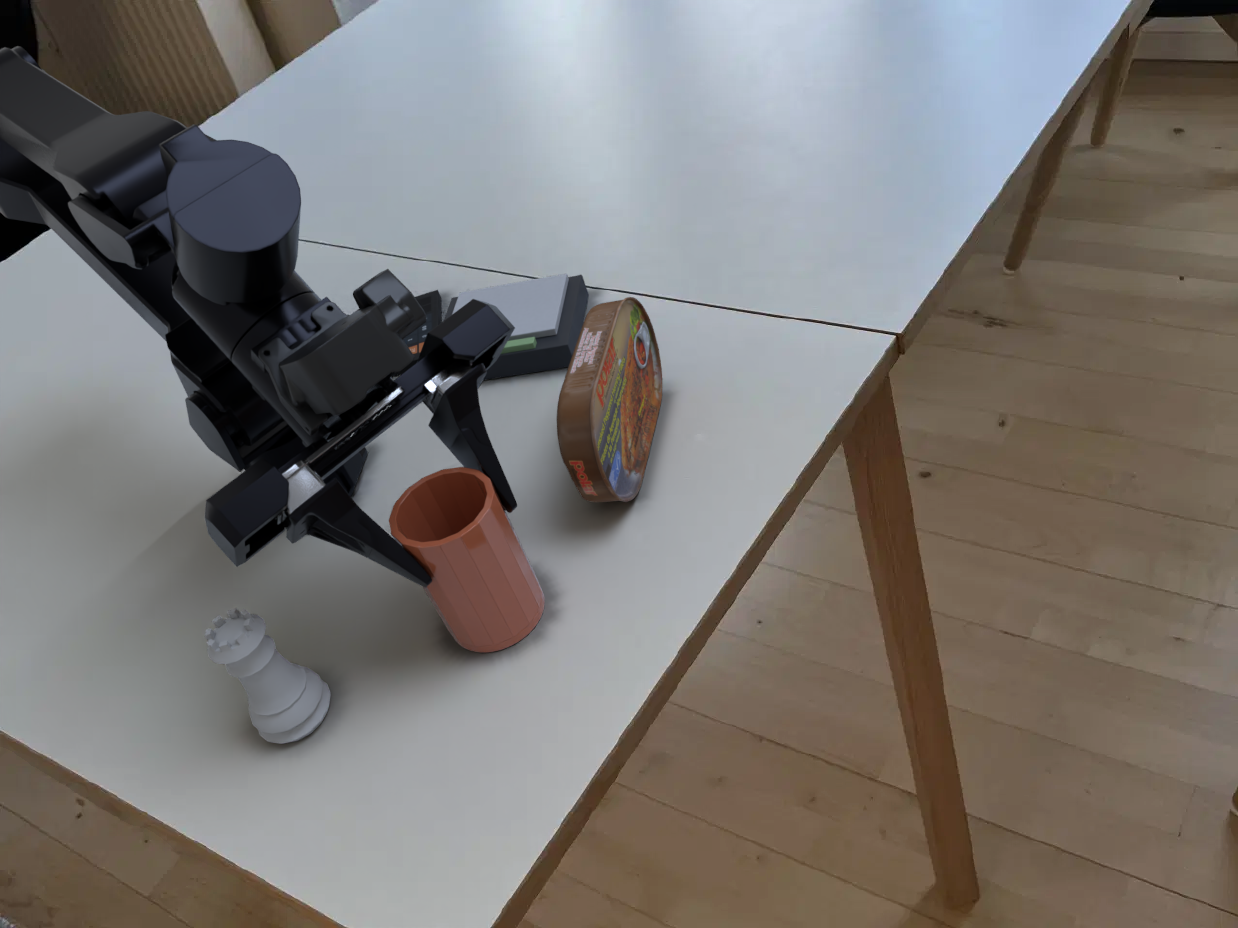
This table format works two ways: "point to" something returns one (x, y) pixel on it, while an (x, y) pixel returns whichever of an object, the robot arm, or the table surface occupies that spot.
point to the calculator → (433, 318)
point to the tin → (610, 402)
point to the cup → (469, 558)
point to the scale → (534, 321)
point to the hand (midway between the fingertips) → (472, 546)
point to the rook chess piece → (268, 678)
